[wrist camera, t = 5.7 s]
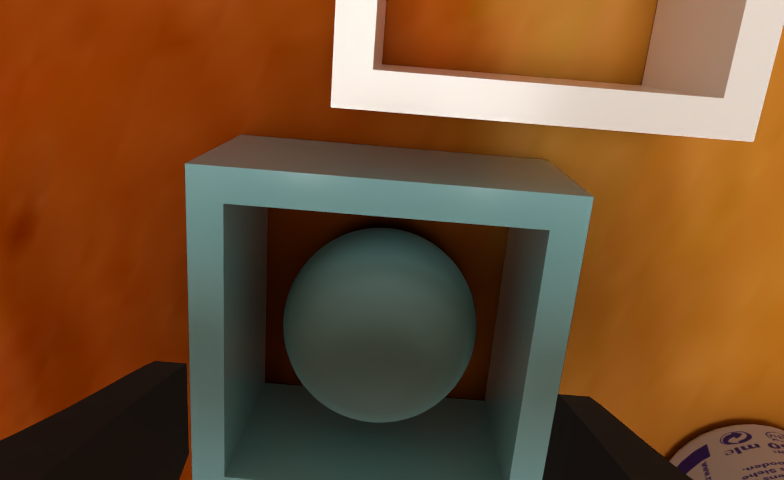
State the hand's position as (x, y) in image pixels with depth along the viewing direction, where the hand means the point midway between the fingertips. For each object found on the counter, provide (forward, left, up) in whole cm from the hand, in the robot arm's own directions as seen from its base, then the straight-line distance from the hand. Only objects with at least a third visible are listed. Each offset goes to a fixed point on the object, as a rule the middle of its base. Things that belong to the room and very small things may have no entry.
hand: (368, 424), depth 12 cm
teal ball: (0, 0, -4) cm, 4 cm away
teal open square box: (0, 0, -7) cm, 7 cm away
